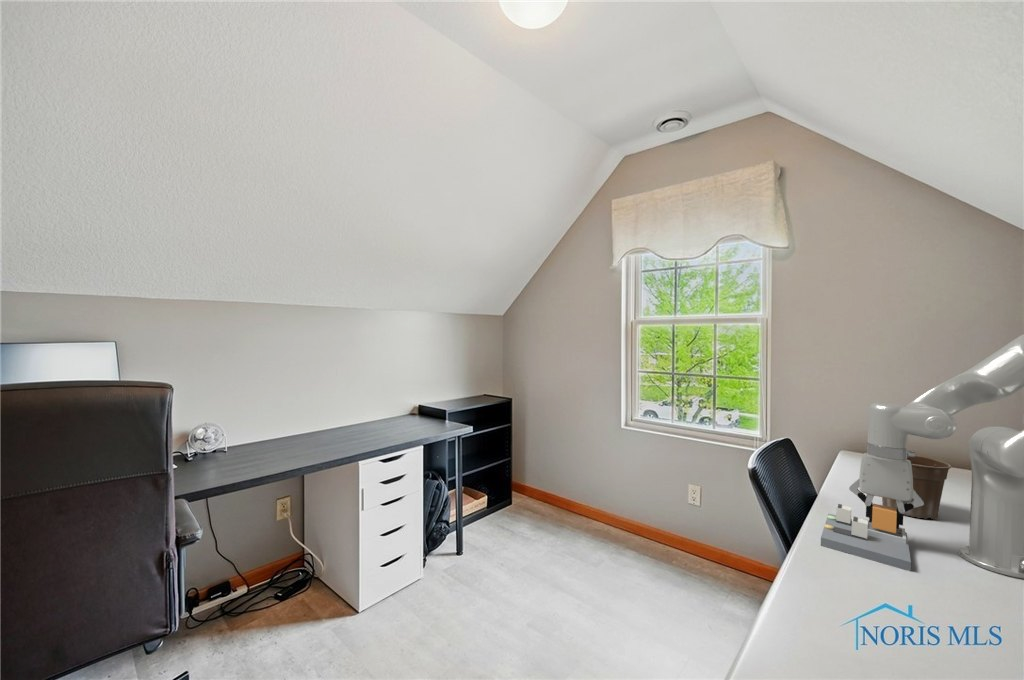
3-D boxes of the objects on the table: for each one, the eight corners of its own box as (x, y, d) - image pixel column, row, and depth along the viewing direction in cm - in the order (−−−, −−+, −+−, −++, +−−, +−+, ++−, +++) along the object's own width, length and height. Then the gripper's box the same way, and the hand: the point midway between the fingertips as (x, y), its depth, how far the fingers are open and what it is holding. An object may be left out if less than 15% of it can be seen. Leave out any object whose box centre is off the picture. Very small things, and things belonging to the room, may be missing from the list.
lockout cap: (895, 533, 103) (896, 512, 103) (871, 527, 106) (872, 507, 106) (895, 528, 106) (896, 508, 106) (872, 522, 109) (872, 503, 109)
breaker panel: (910, 571, 92) (911, 556, 92) (820, 545, 102) (821, 532, 102) (906, 540, 107) (906, 527, 107) (828, 520, 117) (828, 509, 117)
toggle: (850, 523, 110) (850, 509, 110) (835, 520, 112) (836, 506, 112) (850, 520, 112) (851, 506, 112) (836, 517, 114) (837, 503, 114)
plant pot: (939, 509, 128) (941, 457, 128) (957, 529, 115) (959, 470, 115) (870, 497, 137) (872, 448, 137) (879, 513, 124) (881, 459, 124)
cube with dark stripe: (867, 538, 102) (867, 523, 102) (851, 534, 104) (851, 519, 104) (867, 534, 104) (868, 519, 104) (852, 530, 106) (852, 516, 106)
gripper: (932, 456, 103) (929, 530, 103) (845, 443, 114) (842, 509, 114) (935, 462, 98) (931, 540, 98) (843, 448, 109) (840, 518, 109)
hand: (883, 523), depth 106 cm, fingers closed on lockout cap, 4 cm apart
